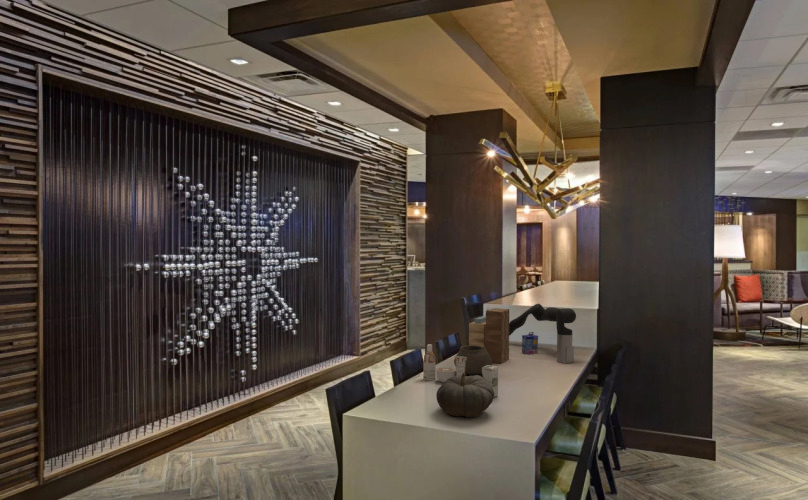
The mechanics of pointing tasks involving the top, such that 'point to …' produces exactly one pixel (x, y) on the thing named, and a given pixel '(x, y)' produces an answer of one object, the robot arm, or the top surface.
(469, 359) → the clay pot
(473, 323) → the oak stand
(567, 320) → the robot arm
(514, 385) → the top surface
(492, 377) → the white carton
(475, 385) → the gourd
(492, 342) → the walnut stand
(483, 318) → the batten
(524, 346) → the ink cartridge box
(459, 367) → the cosmetic set
